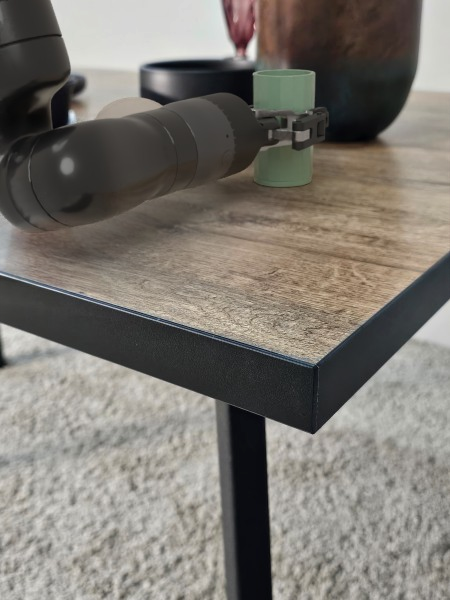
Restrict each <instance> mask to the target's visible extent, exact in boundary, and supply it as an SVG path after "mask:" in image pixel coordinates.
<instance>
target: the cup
mask: <svg viewBox="0 0 450 600" xmlns="http://www.w3.org/2000/svg"><path fill="white" fill-rule="evenodd" d="M315 97H316V72H315V71H313V70H309V69H308V70H307V69H288V68H287V69H265V70H264V69H263V70H258V71H255V72H253V73H252V105H253V108H263V109H267V110H268V109H277V108H287V109H291V110H293V111H294V112H299V111H304V110H310V109H313V108H315V103H316V102H315V101H316V99H315ZM275 117H276V118H277V119H278V122H279V124H280V128H281V116H275ZM297 120H298V119H297ZM313 171H314V145H312V146H310V147H308V148H306V149H303V150H301V151H296V150H294V149H292V144H291V145H287V146H279V147H271V148H269V149H268V150H266V151H260V152H258V154H257V155H256V157H255V159H254V160H253V162H252V172H253V173H252V174H253V181H254V183H256V184H258V185H260V186H265V187H272V188H293V187H301V186H305V185H308V184H310V183H311V182H312V181H313V175H314V172H313Z"/></svg>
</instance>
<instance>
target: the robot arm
mask: <svg viewBox="0 0 450 600" xmlns="http://www.w3.org/2000/svg"><path fill="white" fill-rule="evenodd" d="M56 15H57V14H56V12H55V9H54V6H53V3H52V0H0V214H1V215H2V216H3V218H4V219H6V221H8V223H10V224H11V225H12V226H13V227H15V228H17V229H18V230H20V231H23V232H25V233H30V234H46V233H50V232H51V233H52V232H57V231H61V230H67V229H72V228H77V227H83V226H88V225H92V224H97V223H101V222H104V221H107V220H109V219H111V218H115V217H117V216H120V215H122V214H124V213H126V212H129V211H131V210H133V209H135V208H137V207H138V206H141V204H142V205H143V204H144V203H145V202H148V201H152V200H156V199H158V198H161V197H164V196H167V195H170V194H173V193H176V192H180V191H184V190H192V189H196V188H199V187H202V186H205V185H208V184H211V183H214V182H216V181H219V180H222V179H225V178H228V177H231V176H233V175H236V174H239V173H241V172H244V171H245V170H246V169H248V168H249V167H250V165H252V164H253V160H254V159H255V157H256V155H257V154H258V152H260V151H266V150H268V149H269V148H271V147H279V146H287V145H291V144H292V149H294V150H296V151H301V150H303V149H306V148H308V147H310V146H312V145H313V146H314V145H316V144H319V143H320V142H323V141H325V140H326V128H328V127H329V118H330V117H329V115H330V112H329V111H328V108H327V107H326V106H317V107H314V108H313V109H310V110H304V111H299V112H294V111H293V110H291V109H287V108H277V109H268V110H267V109H263V108H253V104H250V105H248V103H247V102H246V101H245V100H244V99H242V98H241V97H239V96H237V95H236V94H233V93H230V92H218V93H217V92H215V93H211V94H207V95H202V96H201V95H200V96H197V97H196V96H195V97H191V98H187V99H183V100H178V101H177V100H176V101H173V102H170V103H167V104H165V105H162V107H160V108H158V109H154V110H149V111H144V112H140V113H135V114H131V115H127V116H124V117H121V118H107V119H96V120H94V119H91V120H83V121H84V122H79V123H77V122H75V123H71V124H66V125H62V126H60V127H56V128H53V119H52V109H51V108H52V107H51V106H52V105H51V103H52V99H53V97H54V96H55V94H56V93H57V92H58V91H59V90H61V88H63V87H64V86H65V85H66V84H67V82H68V81H69V79H70V77H71V73H72V68H71V67H72V66H71V59H70V56H69V53H68V49H67V46H66V43H65V39H64V37H63V34H62V31H61V28H60V24H59V21H58V19H57V16H56ZM275 116H281V128H280V124H279V122H278V119H277V118H276V117H275ZM297 119H298V120H297Z"/></svg>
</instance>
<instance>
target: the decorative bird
mask: <svg viewBox="0 0 450 600" xmlns="http://www.w3.org/2000/svg"><path fill="white" fill-rule="evenodd" d="M162 106H163V104H160V103H159V102H156V101H155V100H153V99H149V98H145V97H139V96H131V97H130V96H129V97H128V96H127V97H122V98H119V99H116V100H113V101H112V102H110V103H107V104H106V105H105V106H104V107H102V109H100V110H99V112H98V113H97V114H96V116H95V118H94V119H93V120H96V119H107V118H121V117H124V116H127V115H131V114H135V113H140V112H144V111H149V110H154V109H158V108H160V107H162ZM75 120H76V123H79V122H84V121H85V120H83V119H81V118H79V117H75Z"/></svg>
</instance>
